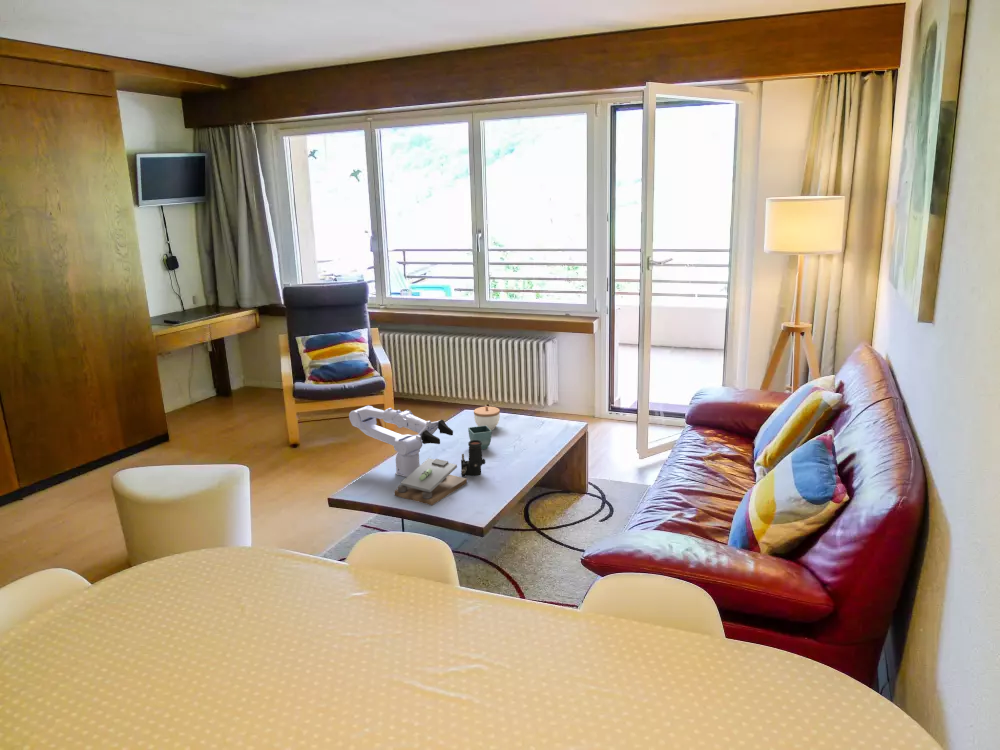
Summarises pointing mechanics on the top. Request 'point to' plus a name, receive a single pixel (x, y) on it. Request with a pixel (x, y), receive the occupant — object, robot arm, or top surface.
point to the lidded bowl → (487, 416)
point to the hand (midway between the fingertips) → (446, 437)
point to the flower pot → (480, 435)
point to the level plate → (429, 474)
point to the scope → (473, 460)
